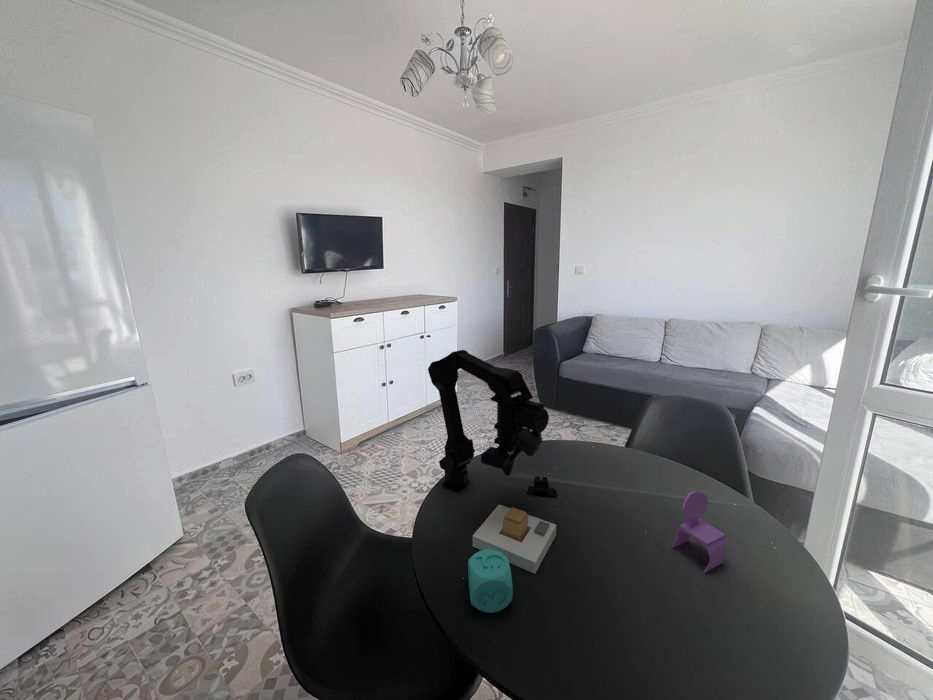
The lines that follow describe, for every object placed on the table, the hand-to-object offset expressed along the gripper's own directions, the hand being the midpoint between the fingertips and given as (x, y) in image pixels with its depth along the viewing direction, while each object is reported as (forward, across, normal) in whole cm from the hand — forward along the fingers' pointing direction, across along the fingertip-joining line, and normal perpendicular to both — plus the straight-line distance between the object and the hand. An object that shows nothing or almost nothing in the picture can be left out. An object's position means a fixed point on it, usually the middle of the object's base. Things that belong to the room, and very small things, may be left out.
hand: (507, 474), depth 100 cm
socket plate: (+12, -8, -6) cm, 16 cm away
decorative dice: (+12, -25, -8) cm, 29 cm away
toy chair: (+12, +9, -44) cm, 47 cm away
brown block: (+12, -8, -6) cm, 15 cm away
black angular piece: (+13, +15, -4) cm, 20 cm away
